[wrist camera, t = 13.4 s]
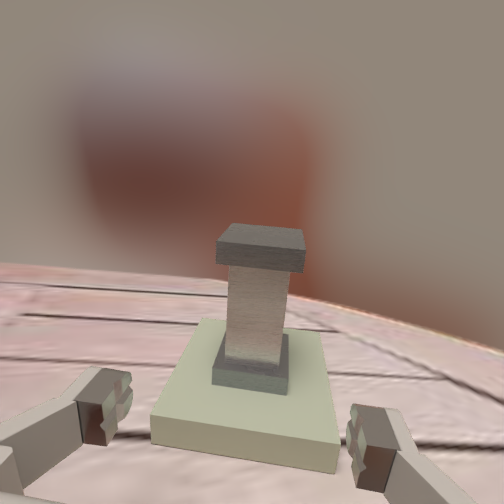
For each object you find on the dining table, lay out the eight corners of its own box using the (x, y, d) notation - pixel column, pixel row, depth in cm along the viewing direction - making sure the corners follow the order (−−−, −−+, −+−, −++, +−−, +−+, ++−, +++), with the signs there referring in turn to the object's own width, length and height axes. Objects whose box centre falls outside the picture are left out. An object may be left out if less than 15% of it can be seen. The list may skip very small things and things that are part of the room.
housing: (211, 384, 21) (216, 240, 18) (226, 340, 26) (232, 222, 23) (286, 395, 21) (305, 250, 17) (286, 348, 26) (301, 229, 22)
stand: (151, 443, 19) (149, 414, 18) (201, 338, 31) (202, 317, 30) (334, 474, 18) (340, 444, 17) (316, 353, 29) (319, 332, 29)
